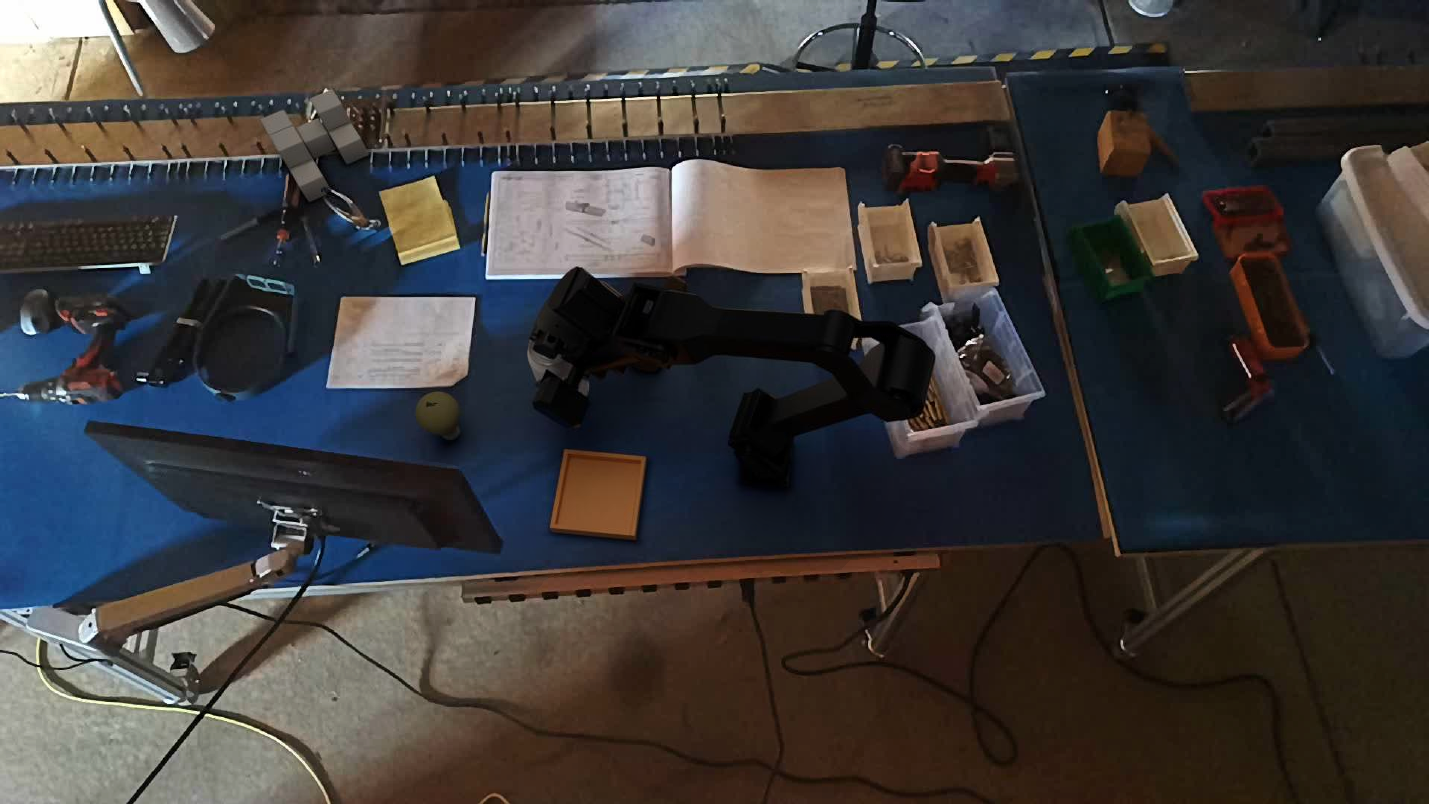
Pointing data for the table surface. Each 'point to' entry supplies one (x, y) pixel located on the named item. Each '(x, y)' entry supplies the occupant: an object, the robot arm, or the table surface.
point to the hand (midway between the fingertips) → (548, 363)
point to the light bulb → (439, 414)
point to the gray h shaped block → (314, 141)
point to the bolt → (671, 283)
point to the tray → (599, 494)
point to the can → (548, 365)
